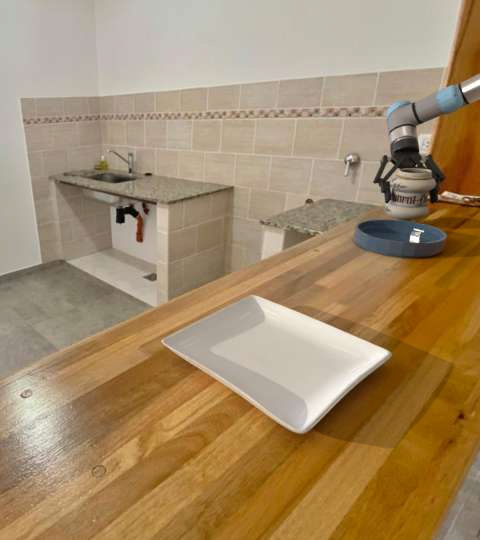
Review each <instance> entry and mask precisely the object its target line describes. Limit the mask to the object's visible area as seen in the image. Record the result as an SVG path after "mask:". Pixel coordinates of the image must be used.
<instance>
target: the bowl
mask: <svg viewBox="0 0 480 540" xmlns="http://www.w3.org/2000/svg"><path fill="white" fill-rule="evenodd" d="M392 219H393V218H392ZM392 219H390V218H388V219H387V218H380V219H379V218H378V219H376V218H375V219H367V220H363V221H359V222H357V223H356V224H355V227H354V231H353V235H352V239H353V241H354V242H355V243H356V244H357V246H359V247H361V248H363V249H364V250H367V251H369V252H371V253H372V252H373V253H375V254H378V255H383V256H387V257H388V256H389V257H395V258H405V259H406V258H407V259H410V258H411V259H419V258H421V259H422V258H429V257H433V256H435V255H438V254H440V253H442V252H443V250H444V248H445V245H446V241H447V238H448V235H447V233H446V232H445V231H443V230H442V229H439V228H438V227H435V226H432V225H429V224H425V223H421V222H417V221H412V222H410V221H411V220H410V221H404V220H392Z"/></svg>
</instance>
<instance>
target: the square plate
mask: <svg viewBox="0 0 480 540" xmlns="http://www.w3.org/2000/svg"><path fill="white" fill-rule="evenodd" d="M161 343H162V344H163V345H164V346H165V347H167V348H168V349H169V350H170V351H172V352H173V353H174V354H176V355H177V356H178V357H180V358H181V359H183V360H185V361H186V362H187V363H189V364H191V365H192V366H194V367H195V368H197V369H199V370H201V371H202V372H204V373H205V374H207V375H208V376H210V377H211V378H213V379H215V380H216V381H217V382H219V383H220V384H223V386H225V387H226V388H229V389H230V390H231V391H232V392H234V393H236V394H237V395H238V396H240V397H241V398H243V399H244V400H245V401H247V402H248V403H249V404H251V405H253V406H254V407H255V408H257V410H259V411H260V412H261V413H263V414H265V415H266V416H267V417H269V418H270V419H271V420H273V421H275V422H276V423H277V424H279V425H281V426H282V427H284V428H285V429H287V430H289V431H291V432H293V433H295V434H299V435H305V434H307V433H308V432H310V430H312V429H313V428H314V427H315V426H316V425H317V424H319V423H320V421H321V420H322V419H323V418H324V417H326V415H327V414H328V413H329V412H330V411H331V410H332V409H333V408H334V407H335V406H336V405H337V404H338V403H339V402H340V401H341V400H342V399H343V398H344V397H345V396H346V395H348V394H349V392H350V391H352V390H353V389H354V388H355V387H356V386H357V385H358V384H360V383H361V382H362V381H363V380H365V379H366V378H367V377H368V376H370V375H371V374H372V373H374V372H375V371H376V370H377V369H379V368H380V367H382V366H383V365H384V364H385V363H386V362H387V361H389V360H390V359H391V357H393V353H392V352H391V350H388V349H386V348H384V347H382V346H379V345H376V344H375V343H372V342H370V341H367V340H366V339H363V338H360V337H358V336H356V335H353V334H351V333H349V332H346V331H344V330H342V329H339V328H337V327H335V326H333V325H331V324H328V323H326V322H324V321H321V320H319V319H317V318H314V317H312V316H309V315H306V314H305V313H302V312H299V311H298V310H295V309H292V308H290V307H287V306H284V305H283V304H279V303H276V302H274V301H273V300H272V301H271V300H269V299H267V298H264V297H261V296H259V295H257V294H256V295H255V294H250V295H248V296H245V297H244V298H242V299H240V300H238V301H236V302H234V303H231V304H229V305H228V306H225V307H223V308H222V309H220V310H217V311H215V312H213V313H211V314H209V315H207V316H205V317H203V318H201V319H199V320H198V321H197V320H196V321H195V322H193V323H191V324H189V325H188V326H185V327H184V328H181V329H180V330H178V331H176V332H174V333H171V334H170V335H168V336H166V337H164V338H163V339H161Z"/></svg>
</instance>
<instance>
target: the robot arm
mask: <svg viewBox="0 0 480 540" xmlns="http://www.w3.org/2000/svg"><path fill="white" fill-rule="evenodd" d="M479 100H480V73H477V74H476V75H474V76H472V77H469V78H468V79H465V80H463V81H462V82H460V83H457V84H451V85H449V86H446V87H444V88H441V89H439V90H437V91H436V92H433V93H431V94H429V95H427V96H425V97H423V98H420V99H419V100H416V101H414V102H412V101H411V100H401V101H397V102H394V103H393V104H391V105H390V106H389V107H388V109H387V111H386V124H387V131H388V132H387V133H388V140H389V150H390V151H389V152H390V156H388V155H387V154H384V155H383V156H382V157H381V159H380V160H379V161H380V162H379V163H380V164H379V165H380V166H379V168H378V170H377V172H376V174H375V177H374V179H373V181H372V183H373V184H374V185H375V184H376V185H377V184H378V187H380V193H381V194H383V195H384V204H385V203H389V201H390V200H391V192H392V188H391V186H390V180H389V179H391V177H392V176H393V174H394V173H395V172H396V171H397V170H400V169H405V168H420V169H428V170H431V171H432V178H433V179H434V180H435V181H436V186H435V187H434V188H433V189H432V190H430V191H429V193H428V196H429V201H430V204H432V205H433V204H435V203H436V202H437V201H438V200H439V194H438V193H439V192H440V190H441V187H440V184H442V183H443V182H444V181H445V180H446V175H445V174H444V172H443V171H442V170H441V168H439V166H438V165H437V163H436V161H434V157H433V155H432V154H431V153H428V154H427V155H421V154H420V145H419V141H418V140H419V137H418V130H417V126H420V125H422V124H424V123H426V122H429V121H432V120H435V119H437V118H439V117H442V116H445V115H450V114H451V113H454V112H456V111H457V110H459V109H463V108H464V107H466V106H468V105H470V104H473V103H474V102H477V101H479ZM389 163H391V164H392V165H393V166H392V167H391V169H390V170H389V171H388V172H387V173H386V174H385V176H383V177H382V175H383V174H384V171H385V169H386V166H387V164H389Z"/></svg>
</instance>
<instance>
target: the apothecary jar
mask: <svg viewBox="0 0 480 540" xmlns="http://www.w3.org/2000/svg"><path fill="white" fill-rule="evenodd" d="M389 181H390V188H391V200H390V201H389V203H385V202H384V204H383V206H382V210H383V212H384V213H385V214H386V215H387V216H389V217H391V218H392V220H404V221H410V222H413V221H414V220H419V219H422V218H424V217H426V216H427V215H428V214H429V213H430V207H429V206H428V204H427V203H428V202H427V201H428V197H429V191H430V190H432V189H433V188H434V187H435V186H436V181H435V180H434V179H433V178H432V171H431V170H428V169H420V168H405V169H398V171H397V173H396V175H394V176H393V177H391V178H390V180H389Z"/></svg>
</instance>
